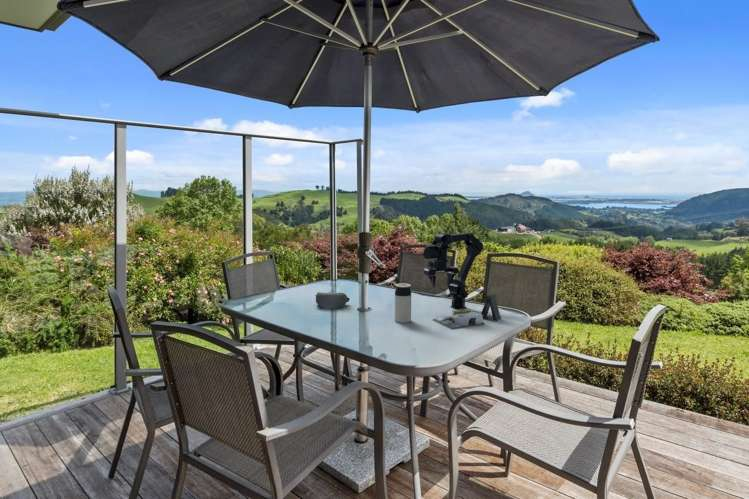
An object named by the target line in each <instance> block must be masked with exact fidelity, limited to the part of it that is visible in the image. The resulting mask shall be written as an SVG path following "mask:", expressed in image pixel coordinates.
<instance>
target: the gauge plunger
mask: <svg viewBox="0 0 749 499" xmlns="http://www.w3.org/2000/svg"><path fill="white" fill-rule="evenodd" d="M470 312H472V310H471V309H470V308H463V309H455V310H451V316H452V318H450V319H443V320H442V321H446V320H453V321H454V315H455V314H462V313H470ZM469 320H471V318H469Z"/></svg>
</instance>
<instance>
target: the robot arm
mask: <svg viewBox="0 0 749 499" xmlns="http://www.w3.org/2000/svg"><path fill="white" fill-rule="evenodd" d="M462 241H464V244H465V246H466V249H465V250H466V255H465V257H464V259H463V262H462V263H461V266H460V269H459V268H458V267H456V266H448V263H449V262H450V261H449V259H448V250H450V249H451V246H449V245H451V244H452V243H454V242H455V243H456V242H462ZM483 250H484V244H483V242H482V241H481V240H480V239H478V238H477V237H476V236H475V235H474V234H473V233H471V232H465V231H464V232H460V233H452V234H448V233H447V234H446V233H436V234H435V236H434V238H433V240H432V241H431V244H430V245H426V246H425V248H424V250H423V252H422V253H423V254H422V255H423V257H424V258H425V260H428V261H427V263H426V266H427V268H424V269H423V275H425V276H427V277H428V279H429V280H430V283H431V286H432V288H434V289H435V286H436V280H437V275H436V274H442V273H443V274H444V273H445V274H446V275H447V277H446V278H447V281H446V282H447V284H446V286H447V289H448V291H449V294H450V296H451V297H452V298H451V305H450V307H451V308H453V309H455V310H462V309H468V308H467V307H468V306H466V299H467V298H468V296H469V293H468V292H467V291H466V286H467V285H466V280H467V278H468V276H469V275H468V274H469V273H470V271H471V269H472V266H473V264H474V262H475V259H476V258H477V257H478V256H479V255H480V254H481V253H482V251H483ZM429 259H430V260H429ZM433 259H434V261H431V260H433Z"/></svg>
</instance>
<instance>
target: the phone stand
mask: <svg viewBox="0 0 749 499" xmlns="http://www.w3.org/2000/svg"><path fill="white" fill-rule="evenodd" d="M490 310H491V315H488V314H489V311H490ZM500 313H501V312H500V310H499V306H498V303H497V296H496V294H495V293H491V294H489V295H487V296H486V297H485V302H484V305H483V307H482V310H481V313H480V314H482V315H483V320H486V321H492V322H497V321H499V320H501V319H502V316H501V314H500Z"/></svg>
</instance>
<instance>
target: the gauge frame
mask: <svg viewBox="0 0 749 499" xmlns="http://www.w3.org/2000/svg"><path fill="white" fill-rule="evenodd" d="M450 318H452V315H451V316H446V317H445V316H444V317H443V316H442V317H441V316H439V317H435V318H432V321H434V322H435V323H437V324H440V325H442V326H444V327H446V328H448V329H450V330H455V329H462V328H463V329H464V328H469V327H476V326H482V325H485V324H486V323H485V322H483V320H484V319H483V315H482V314H481V313H479V312H476V311H471V312H470V313H462V314H455V315H454V321H453V320H446V321H442V320H443V319H450ZM469 318H471V320H469Z"/></svg>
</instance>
